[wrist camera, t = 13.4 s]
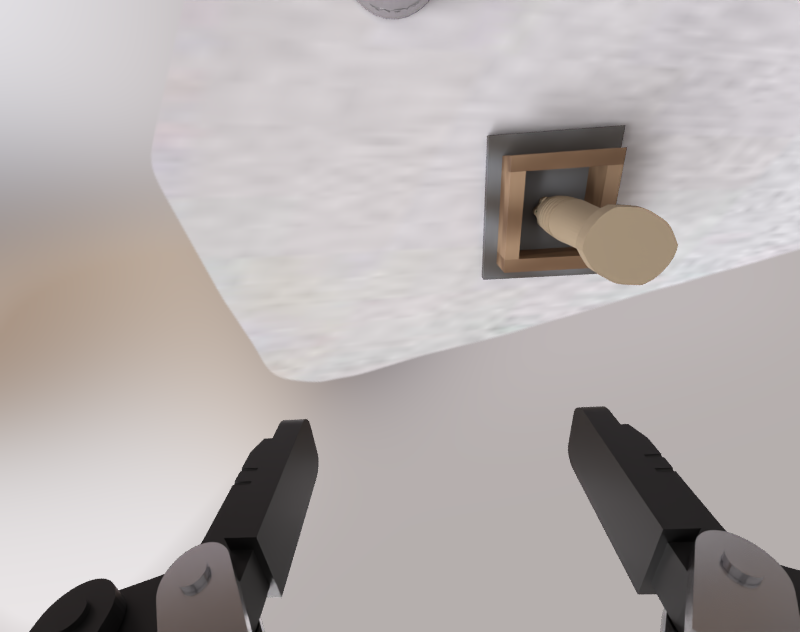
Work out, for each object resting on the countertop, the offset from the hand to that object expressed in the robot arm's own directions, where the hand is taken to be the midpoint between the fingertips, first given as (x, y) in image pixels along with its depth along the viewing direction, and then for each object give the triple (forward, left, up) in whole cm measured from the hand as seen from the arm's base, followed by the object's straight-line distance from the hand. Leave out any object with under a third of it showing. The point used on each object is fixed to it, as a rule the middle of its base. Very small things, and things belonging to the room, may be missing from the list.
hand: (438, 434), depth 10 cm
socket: (-2, +14, -31) cm, 34 cm away
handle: (-2, +14, -30) cm, 33 cm away
